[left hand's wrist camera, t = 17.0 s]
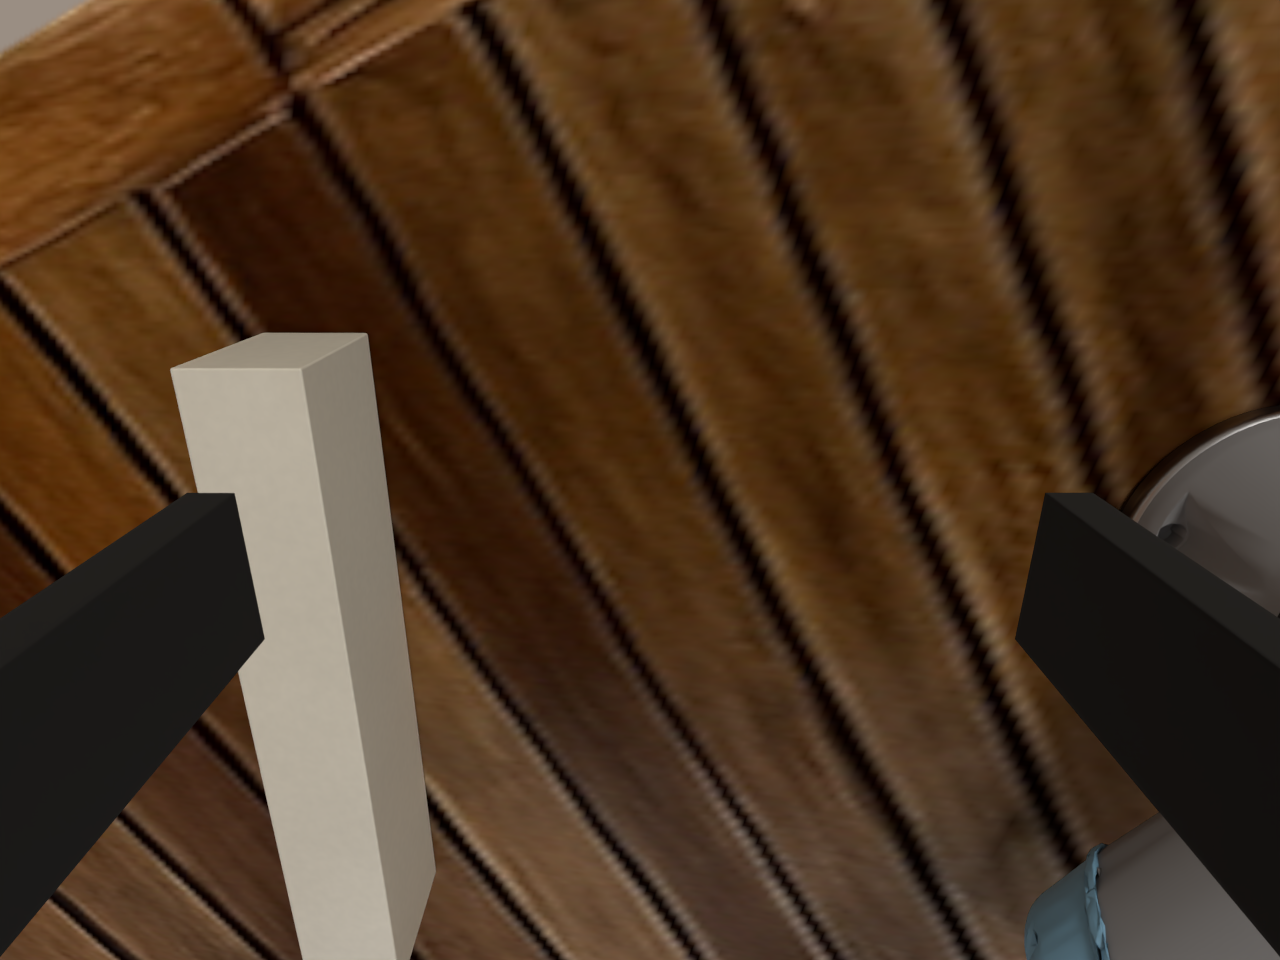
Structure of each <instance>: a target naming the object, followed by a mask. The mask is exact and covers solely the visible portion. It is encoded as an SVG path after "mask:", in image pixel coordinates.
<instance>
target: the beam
mask: <svg viewBox="0 0 1280 960" xmlns="http://www.w3.org/2000/svg"><path fill="white" fill-rule="evenodd" d="M170 371H171V375H172V380H173V384H174V389H175V393H176V398H177V402H178V406H179V411H180V415H181V420H182V424H183V429H184V433H185V438H186V442H187V447H188V451H189V455H190V460H191V464H192V469H193V473H194V478H195V482H196V487H197V491H198V493H235V497H236V502H237V507H238V512H239V516H240V521H241V526H242V531H243V536H244V541H245V545H246V550H247V555H248V560H249V565H250V570H251V574H252V579H253V584H254V589H255V594H256V598H257V603H258V608H259V613H260V618H261V623H262V627H263V632H264V637H265V640H264V641H263V642H262V643H261V644H260V646H259V647H258V648H257V649H256V650H255V652H254V653H253V654H252V655H251V656H250V658H249V659H248V660H247V661H246V662H245V664H244V665H243V666H242V667H241V668H240V670H239V671H238V674H239V678H240V683H241V687H242V691H243V696H244V700H245V705H246V709H247V714H248V718H249V723H250V727H251V731H252V736H253V740H254V745H255V749H256V754H257V758H258V763H259V767H260V772H261V776H262V780H263V785H264V789H265V794H266V798H267V803H268V807H269V812H270V816H271V821H272V825H273V829H274V834H275V838H276V843H277V847H278V852H279V856H280V861H281V865H282V870H283V874H284V878H285V883H286V887H287V892H288V896H289V901H290V905H291V910H292V914H293V918H294V923H295V927H296V932H297V936H298V941H299V945H300V950H301V954H302V959H303V960H410V957H411V953H412V950H413V947H414V943H415V940H416V937H417V933H418V930H419V927H420V923H421V920H422V916H423V913H424V910H425V906H426V903H427V900H428V896H429V893H430V890H431V886H432V883H433V880H434V876H435V873H436V868H435V860H434V852H433V844H432V836H431V828H430V820H429V813H428V805H427V797H426V789H425V781H424V773H423V765H422V758H421V750H420V742H419V734H418V726H417V718H416V710H415V703H414V695H413V687H412V679H411V671H410V663H409V655H408V648H407V640H406V632H405V624H404V616H403V608H402V601H401V593H400V585H399V577H398V569H397V561H396V553H395V546H394V538H393V530H392V522H391V514H390V506H389V498H388V491H387V483H386V475H385V467H384V459H383V451H382V443H381V436H380V428H379V420H378V412H377V404H376V396H375V388H374V381H373V373H372V365H371V357H370V349H369V341H368V335H367V333H262V334H259V335H256V336H254V337H251V338H249V339H246V340H243V341H241V342H238V343H236V344H233V345H230V346H228V347H225V348H223V349H220V350H217V351H215V352H212V353H210V354H207V355H204V356H202V357H199V358H197V359H194V360H191V361H189V362H186V363H184V364H181V365H178V366H176V367H173V368H171V370H170Z"/></svg>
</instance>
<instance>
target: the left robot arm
mask: <svg viewBox="0 0 1280 960" xmlns="http://www.w3.org/2000/svg"><path fill="white" fill-rule="evenodd" d="M264 640H265V637H264V632H263V627H262V623H261V618H260V613H259V608H258V603H257V598H256V594H255V589H254V584H253V579H252V574H251V570H250V565H249V560H248V555H247V550H246V545H245V541H244V536H243V531H242V526H241V521H240V516H239V512H238V507H237V502H236V497H235V493H186V494H185V495H184V496H182V497H181V498H179V499H178V500H176V501H175V502H173V503H172V504H170V505H169V506H167V507H166V508H164V509H163V510H161V511H160V512H158V513H157V514H155V515H154V516H152V517H151V518H149V519H148V520H146V521H145V522H143V523H142V524H140V525H139V526H137V527H136V528H134V529H133V530H131V531H130V532H128V533H127V534H125V535H124V536H122V537H121V538H120V539H118V540H117V541H115V542H114V543H112V544H111V545H109V546H108V547H106V548H105V549H103V550H102V551H100V552H99V553H97V554H96V555H94V556H93V557H91V558H90V559H88V560H87V561H85V562H84V563H82V564H81V565H79V566H78V567H76V568H75V569H73V570H72V571H70V572H69V573H67V574H66V575H64V576H63V577H61V578H60V579H58V580H57V581H55V582H54V583H53V584H51V585H50V586H48V587H47V588H45V589H44V590H42V591H41V592H39V593H38V594H36V595H35V596H33V597H32V598H30V599H29V600H27V601H26V602H24V603H23V604H21V605H20V606H18V607H17V608H15V609H14V610H12V611H11V612H9V613H8V614H6V615H5V616H3V617H2V618H0V956H1V955H2V954H3V953H4V952H5V950H6V949H7V948H8V947H9V946H10V944H11V943H12V942H13V941H14V940H15V938H16V937H17V936H18V935H19V934H20V932H21V931H22V930H23V929H24V928H25V926H26V925H27V924H28V923H29V922H30V920H31V919H32V918H33V917H34V916H35V914H36V913H37V912H38V911H39V910H40V908H41V907H42V906H43V905H44V904H45V902H46V901H47V900H48V899H49V898H50V896H51V895H52V894H53V893H54V892H55V890H56V889H57V888H58V887H59V886H60V884H61V883H62V882H63V881H64V880H65V878H66V877H67V876H68V875H69V874H70V872H71V871H72V870H73V869H74V868H75V866H76V865H77V864H78V863H79V862H80V860H81V859H82V858H83V857H84V856H85V854H86V853H87V852H88V851H89V850H90V848H91V847H92V846H93V845H94V844H95V842H96V841H97V840H98V839H99V838H100V836H101V835H102V834H103V833H104V832H105V830H106V829H107V828H108V827H109V826H110V824H111V823H112V822H113V821H114V820H115V818H116V817H117V816H118V815H119V814H120V812H121V811H122V810H123V809H124V808H125V806H126V805H127V804H128V803H129V802H130V800H131V799H132V798H133V797H134V796H135V794H136V793H137V792H138V791H139V790H140V788H141V787H142V786H143V785H144V784H145V782H146V781H147V780H148V779H149V778H150V776H151V775H152V774H153V773H154V772H155V770H156V769H157V768H158V767H159V766H160V764H161V763H162V762H163V761H164V760H165V758H166V757H167V756H168V755H169V754H170V752H171V751H172V750H173V749H174V748H175V746H176V745H177V744H178V743H179V742H180V740H181V739H182V738H183V737H184V736H185V734H186V733H187V732H188V731H189V730H190V728H191V727H192V726H193V725H194V724H195V722H196V721H197V720H198V719H199V718H200V716H201V715H202V714H203V713H204V712H205V710H206V709H207V708H208V707H209V706H210V704H211V703H212V702H213V701H214V700H215V698H216V697H217V696H218V695H219V694H220V692H221V691H222V690H223V689H224V688H225V686H226V685H227V684H228V683H229V682H230V680H231V679H232V678H233V677H234V676H235V674H236V673H237V672H238V671H239V670H240V668H241V667H242V666H243V665H244V664H245V662H246V661H247V660H248V659H249V658H250V656H251V655H252V654H253V653H254V652H255V650H256V649H257V648H258V647H259V646H260V644H261V643H262V642H263V641H264ZM1015 640H1016V641H1017V642H1018V643H1019V644H1020V646H1021V647H1022V648H1023V649H1024V650H1025V652H1026V653H1027V654H1028V655H1029V656H1030V658H1031V659H1032V660H1033V661H1034V662H1035V664H1036V665H1037V666H1038V667H1039V668H1040V670H1041V671H1042V672H1043V673H1044V674H1045V676H1046V677H1047V678H1048V679H1049V680H1050V682H1051V683H1052V684H1053V685H1054V686H1055V688H1056V689H1057V690H1058V691H1059V692H1060V694H1061V695H1062V696H1063V697H1064V698H1065V700H1066V701H1067V702H1068V703H1069V704H1070V706H1071V707H1072V708H1073V709H1074V710H1075V712H1076V713H1077V714H1078V715H1079V716H1080V718H1081V719H1082V720H1083V721H1084V722H1085V724H1086V725H1087V726H1088V727H1089V728H1090V730H1091V731H1092V732H1093V733H1094V734H1095V736H1096V737H1097V738H1098V739H1099V740H1100V742H1101V743H1102V744H1103V745H1104V746H1105V748H1106V749H1107V750H1108V751H1109V752H1110V754H1111V755H1112V756H1113V757H1114V758H1115V760H1116V761H1117V762H1118V763H1119V764H1120V766H1121V767H1122V768H1123V769H1124V770H1125V772H1126V773H1127V774H1128V775H1129V776H1130V778H1131V779H1132V780H1133V781H1134V782H1135V784H1136V785H1137V786H1138V787H1139V788H1140V790H1141V791H1142V792H1143V793H1144V794H1145V796H1146V797H1147V798H1148V799H1149V800H1150V802H1151V803H1152V804H1153V805H1154V806H1155V808H1156V809H1157V810H1158V811H1159V813H1157V814H1156V815H1154V816H1153V817H1151V818H1149V819H1148V820H1146V821H1145V822H1143V823H1142V824H1140V825H1139V826H1137V827H1136V828H1134V829H1133V830H1131V831H1130V832H1128V833H1126V834H1125V835H1123V836H1122V837H1120V838H1119V839H1117V840H1116V841H1114V842H1113V843H1111V844H1110V845H1106V844H1103V843H1101V844H1099V845H1097V846H1095V847H1093V848H1092V849H1091V850H1090V851H1089V853H1088V855H1087V858H1086V861H1084V862H1083V863H1082V864H1080V865H1079V866H1078V867H1076V868H1075V869H1074V870H1073V871H1071V872H1070V873H1069V874H1067V875H1066V876H1065V877H1063V878H1062V879H1061V880H1059V881H1058V882H1057V883H1056V884H1054V885H1053V886H1052V887H1050V888H1049V889H1048V890H1046V891H1045V892H1044V893H1042V894H1041V895H1040V896H1039V897H1038V898H1037V899H1036V901H1035V902H1034V903H1033V905H1032V906H1031V909H1030V911H1029V913H1028V916H1027V920H1026V925H1025V952H1026V957H1027V960H1280V405H1278V406H1272V407H1266V408H1261V409H1257V410H1253V411H1250V412H1246V413H1243V414H1240V415H1237V416H1234V417H1232V418H1229V419H1227V420H1225V421H1222V422H1220V423H1218V424H1216V425H1214V426H1212V427H1210V428H1208V429H1206V430H1204V431H1202V432H1200V433H1199V434H1197V435H1196V436H1194V437H1192V438H1191V439H1189V440H1188V441H1186V442H1185V443H1183V444H1182V445H1181V446H1179V447H1178V448H1177V449H1175V450H1174V451H1173V452H1172V453H1170V454H1169V455H1168V456H1167V457H1166V458H1165V459H1163V460H1162V461H1161V462H1160V463H1159V464H1158V465H1157V466H1156V467H1155V468H1154V469H1153V470H1152V471H1151V472H1150V473H1149V474H1148V475H1147V477H1146V478H1145V479H1144V480H1143V481H1142V482H1141V484H1140V485H1139V486H1138V487H1137V489H1136V490H1135V492H1134V493H1133V494H1132V496H1131V497H1130V499H1129V500H1128V502H1127V504H1126V505H1125V507H1124V509H1123V510H1122V512H1120V511H1119V510H1117V509H1116V508H1114V507H1113V506H1111V505H1110V504H1108V503H1107V502H1105V501H1104V500H1102V499H1101V498H1099V497H1098V496H1096V495H1095V494H1094V493H1045V497H1044V502H1043V507H1042V512H1041V516H1040V521H1039V526H1038V531H1037V536H1036V541H1035V545H1034V550H1033V555H1032V560H1031V565H1030V570H1029V574H1028V579H1027V584H1026V589H1025V594H1024V598H1023V603H1022V608H1021V613H1020V618H1019V623H1018V627H1017V632H1016V637H1015Z"/></svg>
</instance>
